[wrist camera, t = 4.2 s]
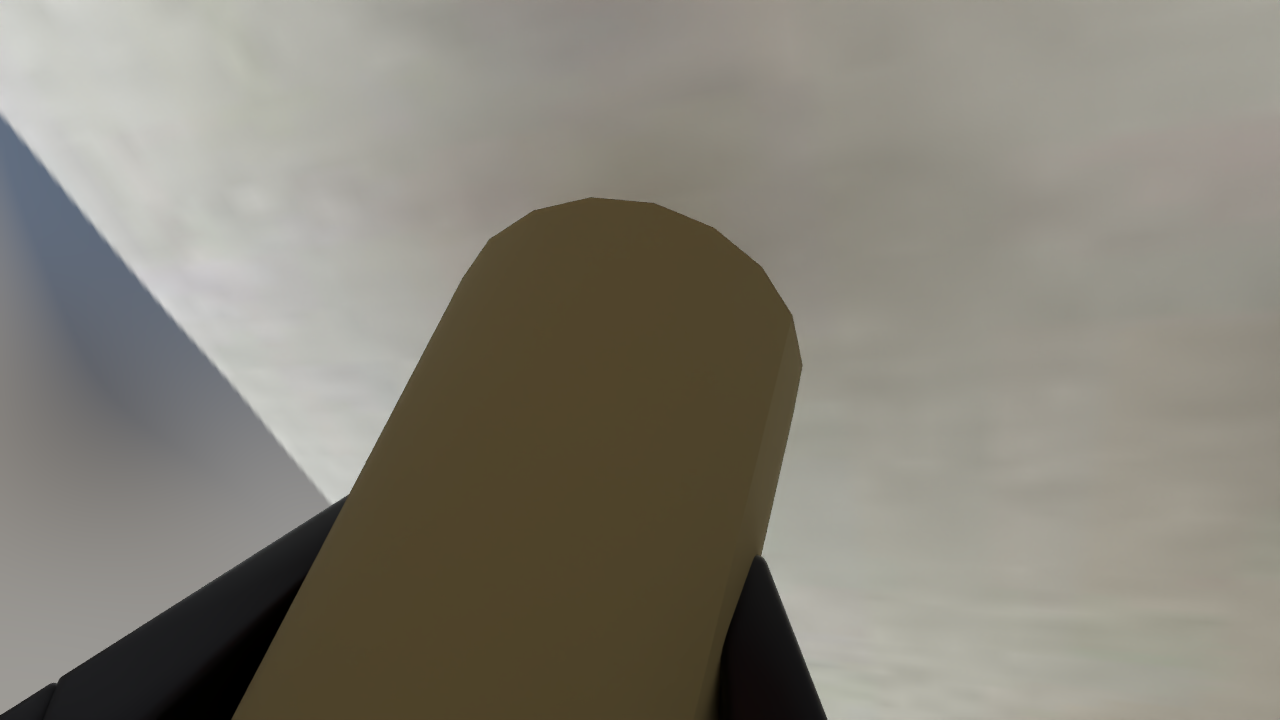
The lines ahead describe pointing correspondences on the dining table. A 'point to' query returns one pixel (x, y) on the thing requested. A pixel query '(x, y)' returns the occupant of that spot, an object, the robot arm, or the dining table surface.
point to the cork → (556, 488)
